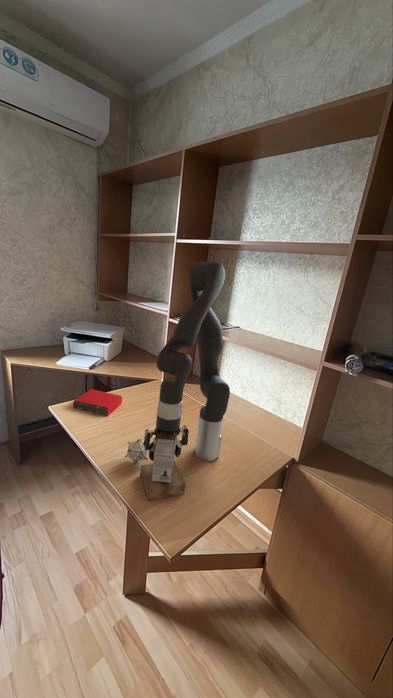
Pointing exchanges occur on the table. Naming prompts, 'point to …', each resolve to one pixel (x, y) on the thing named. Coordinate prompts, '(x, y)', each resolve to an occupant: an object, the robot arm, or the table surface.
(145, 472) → the walnut plinth
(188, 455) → the table surface
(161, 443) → the coffee box
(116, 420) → the table surface
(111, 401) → the red device housing
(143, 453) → the game die
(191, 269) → the robot arm
